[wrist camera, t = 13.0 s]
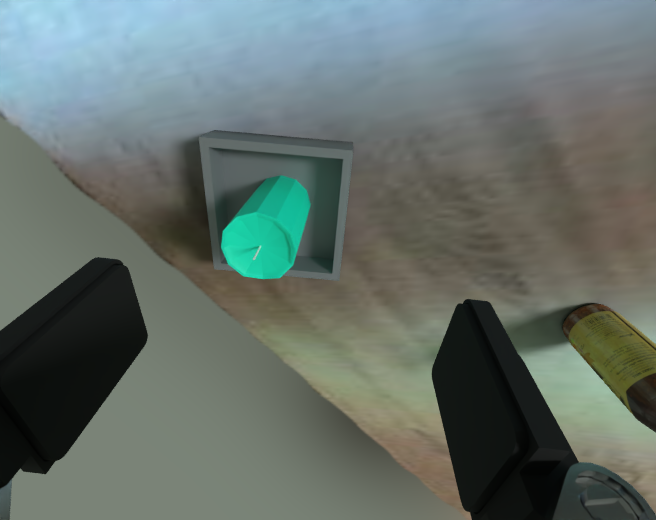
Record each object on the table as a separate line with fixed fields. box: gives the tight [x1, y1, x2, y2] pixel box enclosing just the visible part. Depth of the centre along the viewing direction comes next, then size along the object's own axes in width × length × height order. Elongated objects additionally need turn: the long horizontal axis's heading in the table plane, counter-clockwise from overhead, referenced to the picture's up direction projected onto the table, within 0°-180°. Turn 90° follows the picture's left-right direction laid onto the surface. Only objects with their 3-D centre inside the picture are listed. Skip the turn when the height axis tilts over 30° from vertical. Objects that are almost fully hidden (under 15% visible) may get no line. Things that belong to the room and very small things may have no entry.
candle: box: [221, 175, 311, 279], centre depth 29 cm, size 6×6×12 cm
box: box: [199, 130, 353, 281], centre depth 33 cm, size 14×14×4 cm
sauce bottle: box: [563, 304, 656, 432], centre depth 32 cm, size 6×6×20 cm
